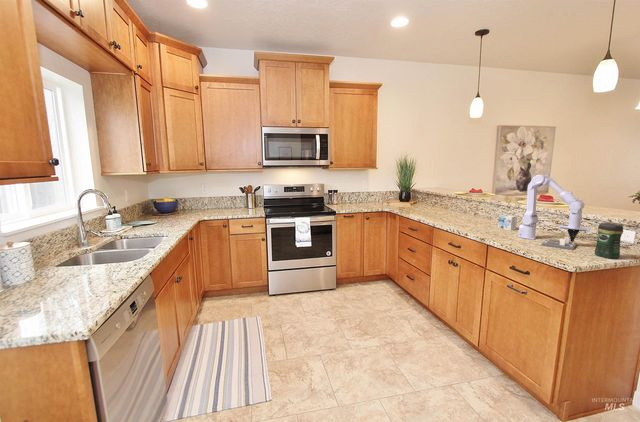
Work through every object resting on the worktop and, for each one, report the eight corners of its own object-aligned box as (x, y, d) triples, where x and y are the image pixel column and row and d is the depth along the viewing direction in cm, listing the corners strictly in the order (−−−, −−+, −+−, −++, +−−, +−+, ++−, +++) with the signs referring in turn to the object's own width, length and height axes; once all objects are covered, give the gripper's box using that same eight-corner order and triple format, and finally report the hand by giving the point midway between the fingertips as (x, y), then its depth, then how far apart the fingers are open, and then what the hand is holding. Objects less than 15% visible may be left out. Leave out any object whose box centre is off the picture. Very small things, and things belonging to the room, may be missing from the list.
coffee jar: (622, 259, 157) (628, 225, 154) (609, 259, 156) (615, 225, 153) (603, 253, 166) (607, 221, 163) (591, 254, 165) (595, 222, 162)
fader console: (541, 245, 184) (541, 242, 184) (547, 240, 196) (547, 237, 196) (572, 250, 173) (573, 247, 173) (576, 244, 186) (577, 241, 185)
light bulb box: (497, 228, 237) (498, 214, 235) (502, 227, 239) (504, 214, 238) (510, 230, 227) (512, 217, 225) (516, 229, 230) (517, 216, 228)
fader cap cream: (559, 244, 180) (560, 239, 180) (560, 243, 182) (560, 238, 182) (564, 245, 179) (565, 239, 178) (565, 244, 181) (565, 239, 180)
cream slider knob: (563, 242, 185) (564, 237, 185) (564, 242, 187) (565, 236, 187) (568, 243, 183) (569, 237, 183) (569, 242, 185) (570, 237, 185)
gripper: (558, 219, 184) (556, 240, 186) (590, 222, 173) (586, 244, 175) (560, 218, 188) (558, 238, 190) (591, 220, 178) (588, 242, 180)
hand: (572, 241), depth 183 cm, fingers closed
